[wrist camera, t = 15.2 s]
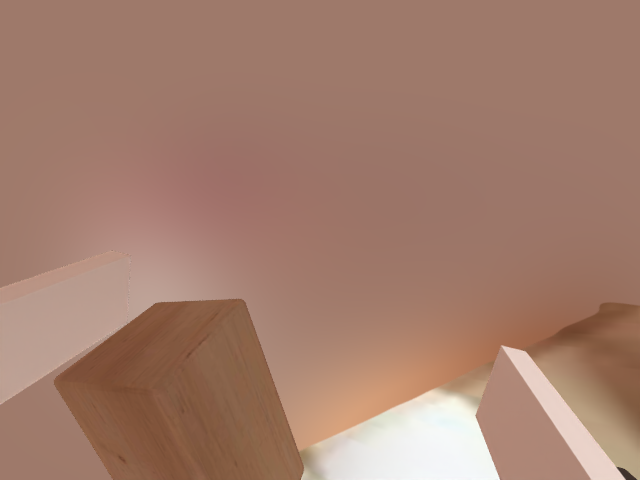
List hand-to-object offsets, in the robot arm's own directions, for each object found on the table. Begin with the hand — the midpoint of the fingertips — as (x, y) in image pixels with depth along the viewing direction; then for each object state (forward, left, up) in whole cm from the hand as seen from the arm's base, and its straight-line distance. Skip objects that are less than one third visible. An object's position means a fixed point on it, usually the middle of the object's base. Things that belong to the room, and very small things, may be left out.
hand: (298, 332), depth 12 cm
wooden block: (+10, -15, -25) cm, 31 cm away
